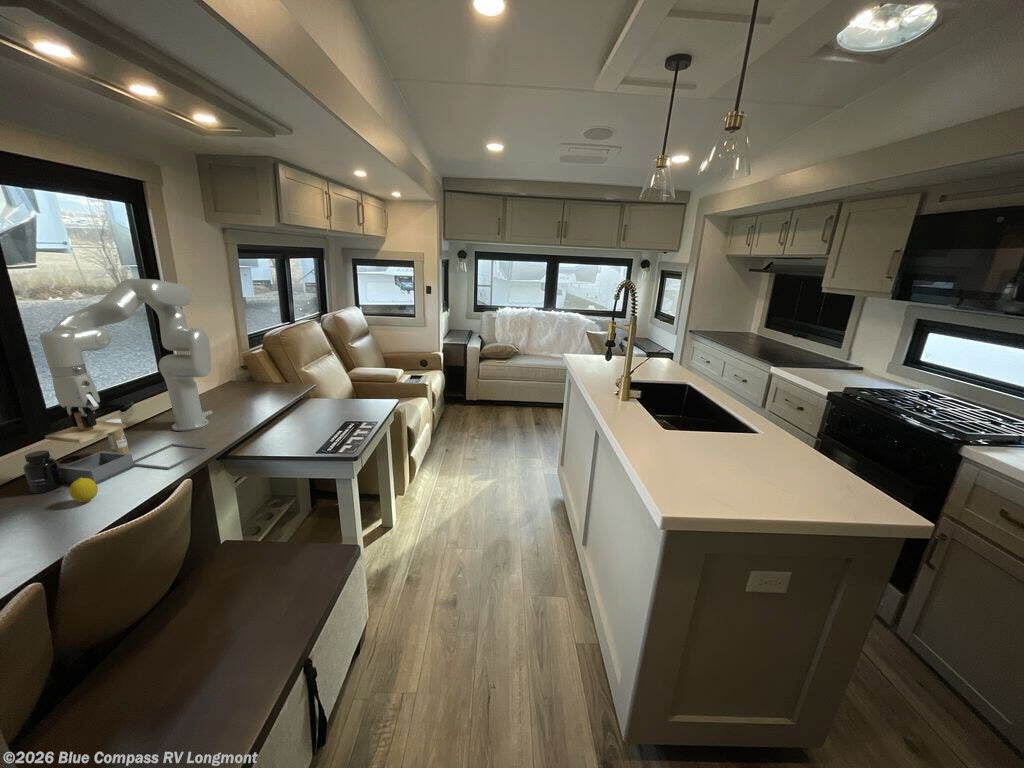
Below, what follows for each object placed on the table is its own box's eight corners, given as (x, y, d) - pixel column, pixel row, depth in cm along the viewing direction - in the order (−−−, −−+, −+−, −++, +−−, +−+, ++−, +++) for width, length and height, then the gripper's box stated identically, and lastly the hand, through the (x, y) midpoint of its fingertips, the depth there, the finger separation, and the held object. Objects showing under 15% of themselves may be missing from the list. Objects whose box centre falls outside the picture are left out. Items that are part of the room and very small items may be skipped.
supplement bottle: (34, 496, 120) (21, 460, 117) (29, 489, 124) (16, 454, 120) (67, 486, 126) (55, 452, 122) (61, 480, 129) (49, 446, 126)
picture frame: (172, 444, 155) (172, 443, 155) (211, 448, 153) (211, 447, 153) (126, 465, 139) (126, 464, 139) (168, 469, 137) (168, 468, 137)
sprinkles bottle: (128, 455, 146) (119, 421, 142) (111, 458, 144) (101, 424, 140) (131, 450, 150) (122, 417, 146) (114, 453, 147) (105, 419, 143)
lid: (94, 423, 136) (88, 403, 134) (126, 426, 134) (120, 406, 132) (45, 439, 124) (38, 417, 122) (80, 443, 122) (73, 421, 120)
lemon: (86, 497, 121) (78, 473, 118) (106, 496, 121) (98, 473, 119) (68, 507, 115) (60, 483, 113) (89, 507, 116) (81, 482, 113)
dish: (105, 464, 140) (101, 451, 138) (134, 467, 138) (131, 454, 137) (63, 481, 128) (59, 467, 127) (95, 485, 127) (91, 471, 125)
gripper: (105, 369, 125) (120, 423, 131) (61, 366, 128) (77, 419, 133) (76, 375, 118) (93, 432, 123) (31, 372, 120) (49, 428, 126)
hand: (85, 425), depth 128 cm, fingers closed on lid, 3 cm apart
